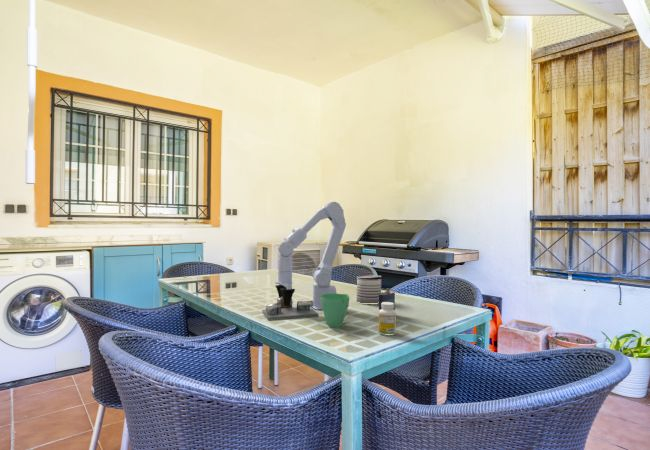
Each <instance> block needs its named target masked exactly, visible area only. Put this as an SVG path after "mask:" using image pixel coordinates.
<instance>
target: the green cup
mask: <svg viewBox="0 0 650 450" xmlns="http://www.w3.org/2000/svg"><path fill="white" fill-rule="evenodd" d="M349 302H350V296H349V294H347V293H343V294H342V293H337V294H324V295H321V303H322V308H323V309H322V313H323V315H324V319H325V322H326V325H327V327H329V328H341V327H342V326H343V323H344V321H345V318H346V315H347V312H348V308H349V306H350V305H349Z"/></svg>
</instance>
